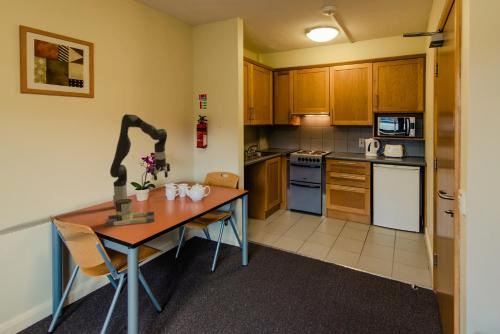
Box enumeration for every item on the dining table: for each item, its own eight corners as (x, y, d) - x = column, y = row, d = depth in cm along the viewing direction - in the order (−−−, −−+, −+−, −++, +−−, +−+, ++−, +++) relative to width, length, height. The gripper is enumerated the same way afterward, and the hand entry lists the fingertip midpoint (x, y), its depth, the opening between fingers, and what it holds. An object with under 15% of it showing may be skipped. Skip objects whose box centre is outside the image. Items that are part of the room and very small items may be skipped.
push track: (105, 226, 191) (105, 222, 190) (108, 219, 206) (108, 215, 205) (154, 221, 200) (154, 218, 199) (154, 214, 215) (154, 211, 214)
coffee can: (114, 223, 196) (112, 202, 194) (119, 218, 206) (118, 199, 204) (130, 223, 197) (128, 202, 195) (134, 218, 207) (133, 198, 205)
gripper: (165, 154, 217) (166, 175, 222) (148, 157, 207) (149, 179, 212) (171, 156, 213) (172, 177, 218) (154, 160, 202) (155, 182, 207)
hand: (160, 178), depth 215 cm, fingers open, 8 cm apart
